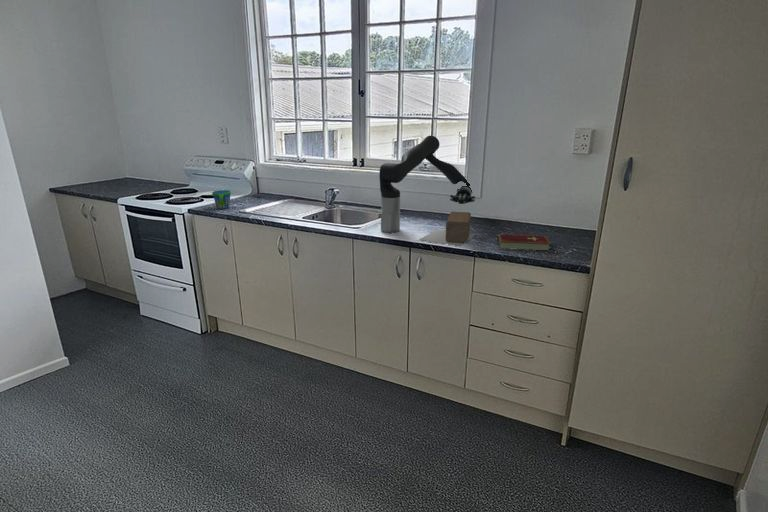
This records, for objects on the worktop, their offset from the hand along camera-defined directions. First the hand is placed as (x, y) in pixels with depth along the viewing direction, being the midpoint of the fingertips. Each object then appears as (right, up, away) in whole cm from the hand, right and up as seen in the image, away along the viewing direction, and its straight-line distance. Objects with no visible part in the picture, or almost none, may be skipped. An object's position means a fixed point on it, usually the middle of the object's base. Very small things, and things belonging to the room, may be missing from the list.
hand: (460, 201), depth 221 cm
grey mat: (-7, -18, -6) cm, 20 cm away
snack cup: (-135, +3, +56) cm, 146 cm away
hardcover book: (+25, -22, -18) cm, 38 cm away
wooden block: (0, -9, +2) cm, 10 cm away
